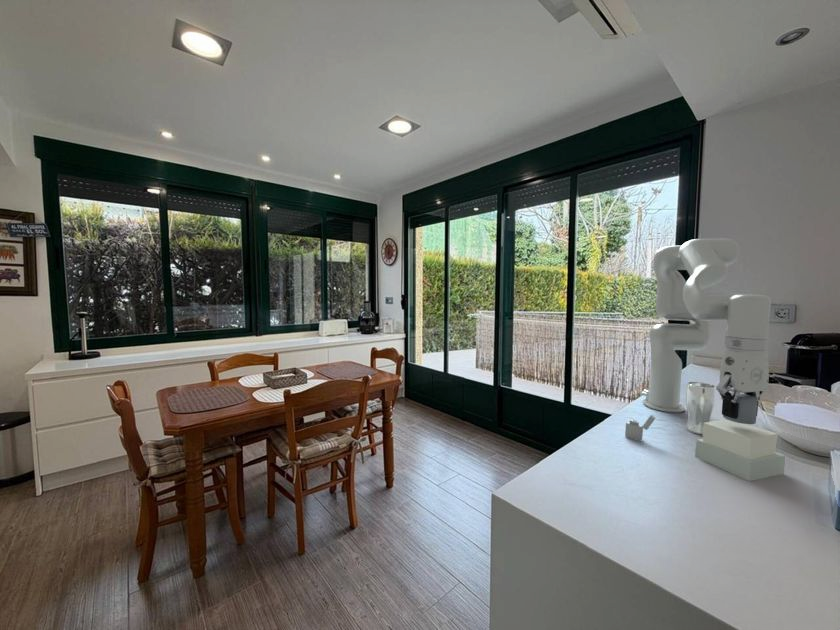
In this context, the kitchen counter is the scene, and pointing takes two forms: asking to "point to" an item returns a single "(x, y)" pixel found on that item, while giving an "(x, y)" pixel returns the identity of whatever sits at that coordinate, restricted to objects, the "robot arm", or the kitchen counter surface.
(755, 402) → the cylinder
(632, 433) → the lighter
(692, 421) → the beer glass
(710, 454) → the tower bottom block
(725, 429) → the tower top block
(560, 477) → the kitchen counter surface
